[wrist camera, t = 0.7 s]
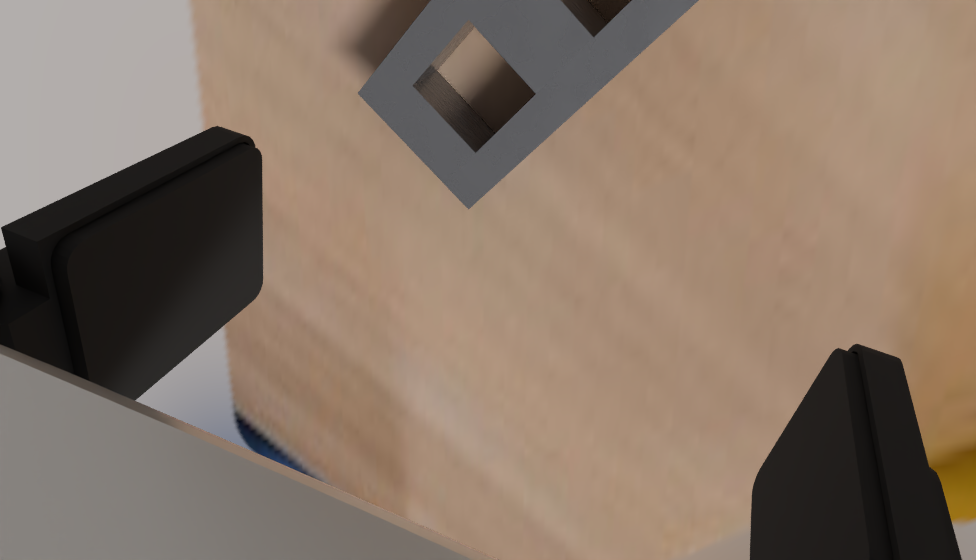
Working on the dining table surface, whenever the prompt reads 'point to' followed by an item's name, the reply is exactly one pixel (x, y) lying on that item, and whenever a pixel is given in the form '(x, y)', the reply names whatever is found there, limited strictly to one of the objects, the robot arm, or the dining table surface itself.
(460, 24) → the peg board
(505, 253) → the dining table surface
